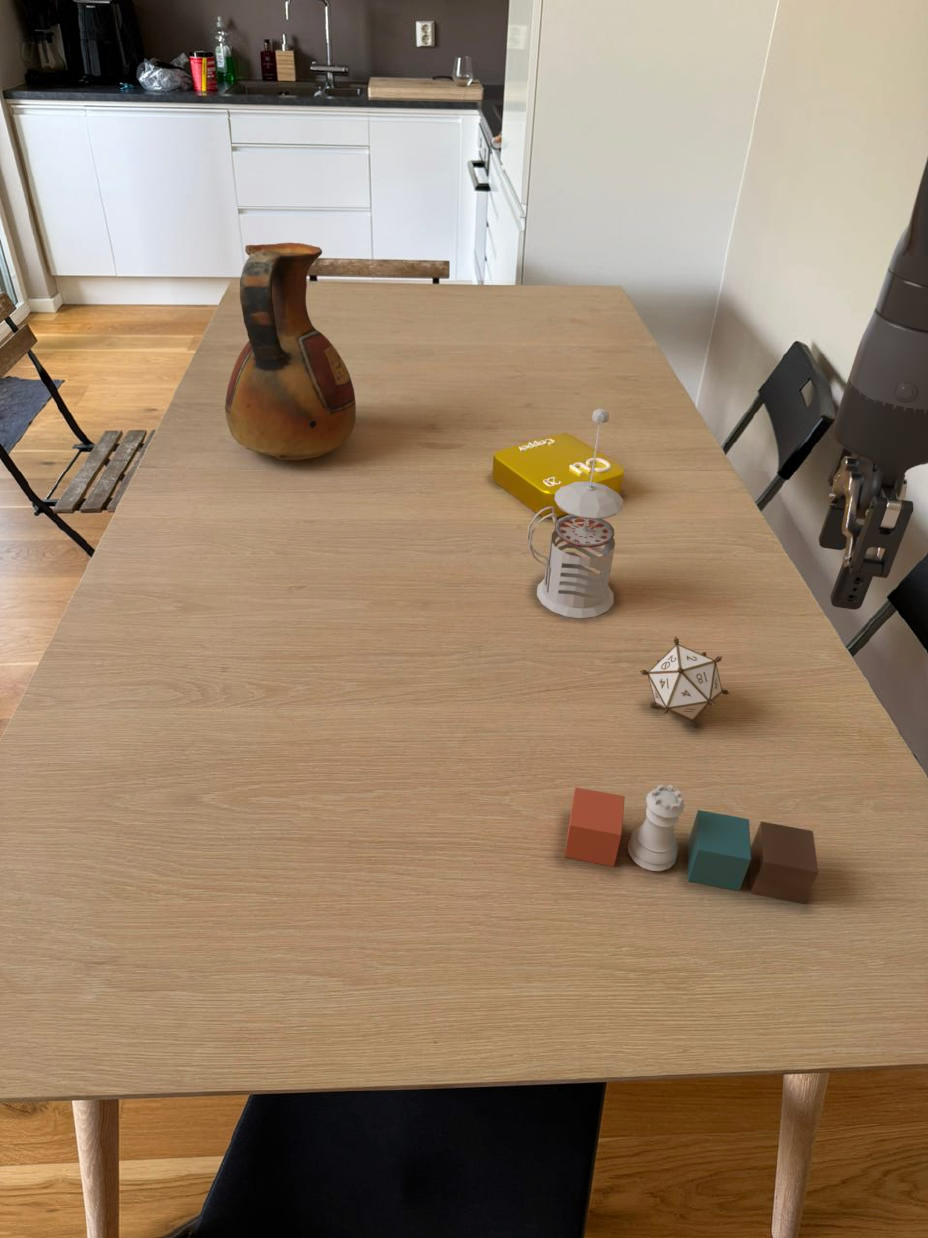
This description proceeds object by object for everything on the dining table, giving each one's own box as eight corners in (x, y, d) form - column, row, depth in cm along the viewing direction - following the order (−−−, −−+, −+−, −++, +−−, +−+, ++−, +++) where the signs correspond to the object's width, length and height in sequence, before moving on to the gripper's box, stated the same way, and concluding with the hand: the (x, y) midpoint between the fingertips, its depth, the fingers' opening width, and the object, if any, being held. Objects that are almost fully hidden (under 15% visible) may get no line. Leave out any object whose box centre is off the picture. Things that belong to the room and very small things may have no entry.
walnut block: (799, 862, 81) (813, 830, 78) (803, 904, 77) (818, 872, 75) (748, 852, 81) (760, 821, 79) (750, 893, 78) (763, 862, 75)
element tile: (563, 454, 142) (567, 427, 139) (626, 496, 132) (631, 467, 129) (486, 477, 135) (488, 448, 132) (546, 522, 126) (549, 492, 123)
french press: (621, 617, 109) (656, 429, 93) (527, 618, 108) (547, 429, 92) (606, 571, 116) (636, 391, 101) (518, 572, 116) (534, 390, 100)
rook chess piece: (666, 831, 83) (682, 773, 78) (683, 871, 80) (701, 812, 75) (620, 837, 82) (634, 778, 77) (635, 877, 79) (651, 818, 74)
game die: (671, 746, 97) (659, 725, 88) (635, 680, 101) (620, 653, 92) (746, 709, 96) (742, 684, 87) (707, 643, 99) (699, 613, 91)
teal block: (737, 850, 82) (749, 818, 79) (739, 891, 78) (751, 859, 75) (688, 841, 82) (697, 809, 79) (687, 881, 79) (697, 849, 76)
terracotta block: (617, 828, 83) (624, 796, 80) (614, 867, 80) (621, 835, 77) (569, 819, 84) (575, 786, 81) (564, 857, 80) (569, 825, 77)
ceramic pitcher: (371, 424, 148) (366, 234, 130) (336, 482, 132) (325, 275, 114) (258, 411, 150) (238, 222, 132) (211, 466, 134) (180, 261, 116)
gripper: (991, 434, 55) (901, 636, 65) (942, 351, 66) (872, 535, 76) (865, 418, 56) (796, 620, 66) (838, 340, 67) (782, 522, 77)
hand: (837, 574), depth 71 cm, fingers open, 8 cm apart
